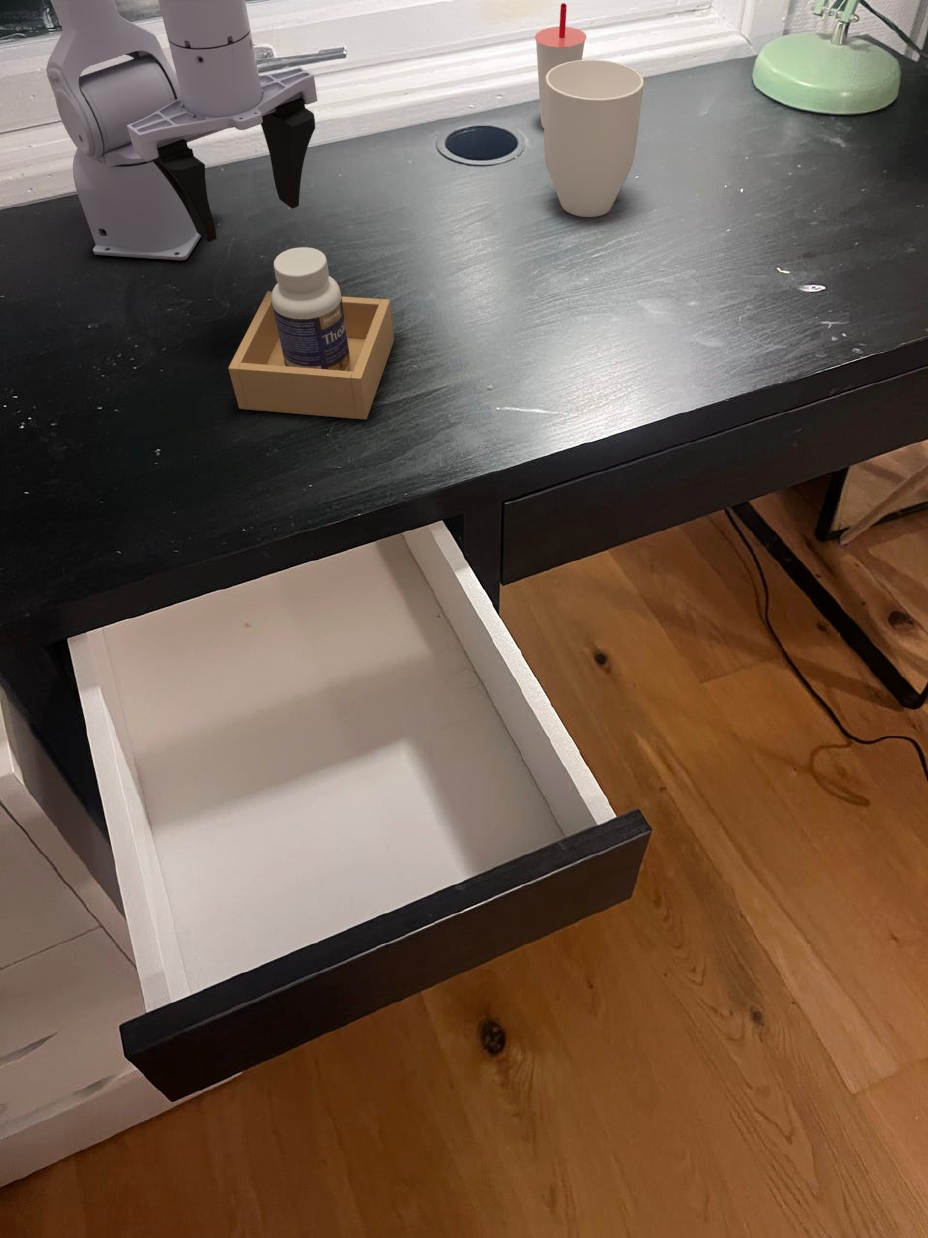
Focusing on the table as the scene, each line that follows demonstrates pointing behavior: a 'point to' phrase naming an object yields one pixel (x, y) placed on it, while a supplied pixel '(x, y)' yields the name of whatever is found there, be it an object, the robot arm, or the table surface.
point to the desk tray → (308, 389)
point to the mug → (591, 132)
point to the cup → (556, 51)
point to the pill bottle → (309, 311)
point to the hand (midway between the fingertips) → (248, 218)
